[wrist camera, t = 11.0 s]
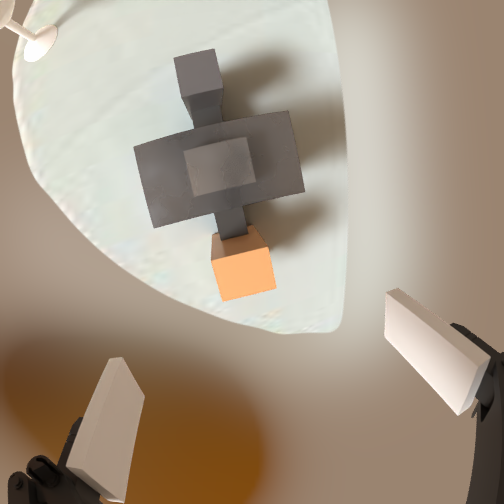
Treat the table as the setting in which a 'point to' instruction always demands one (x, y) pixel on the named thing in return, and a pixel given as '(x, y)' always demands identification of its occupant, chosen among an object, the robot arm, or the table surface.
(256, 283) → the grey orange-ended bar
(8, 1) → the champagne flute
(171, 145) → the grey u-shaped bracket
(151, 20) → the table surface
